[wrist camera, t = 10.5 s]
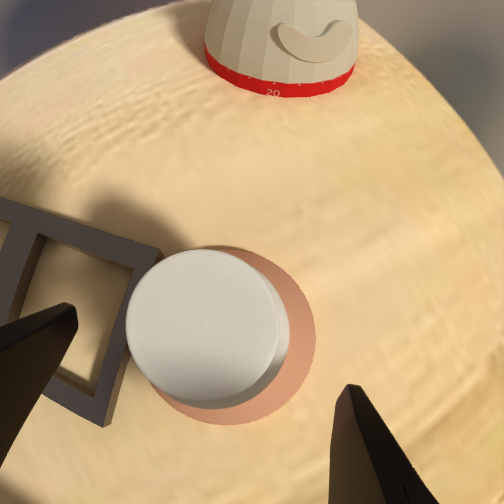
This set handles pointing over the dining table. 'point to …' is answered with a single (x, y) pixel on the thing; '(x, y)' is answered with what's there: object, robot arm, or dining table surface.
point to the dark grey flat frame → (19, 276)
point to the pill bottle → (207, 329)
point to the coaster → (293, 364)
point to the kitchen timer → (283, 44)
